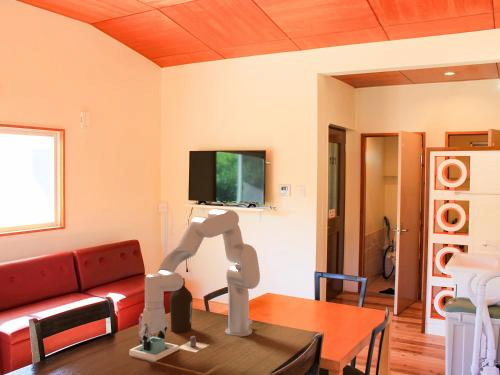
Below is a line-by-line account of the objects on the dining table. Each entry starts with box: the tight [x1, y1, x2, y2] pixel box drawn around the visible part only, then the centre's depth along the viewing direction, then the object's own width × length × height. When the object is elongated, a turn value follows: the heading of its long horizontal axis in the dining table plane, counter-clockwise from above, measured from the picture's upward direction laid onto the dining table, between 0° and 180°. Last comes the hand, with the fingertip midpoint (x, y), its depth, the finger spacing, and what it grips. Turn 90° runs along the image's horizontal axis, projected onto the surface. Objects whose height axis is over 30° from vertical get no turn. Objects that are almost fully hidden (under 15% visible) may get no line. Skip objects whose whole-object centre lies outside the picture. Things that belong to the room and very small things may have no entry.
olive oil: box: [169, 277, 194, 334], centre depth 224 cm, size 11×11×25 cm
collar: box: [141, 336, 166, 355], centre depth 197 cm, size 8×6×5 cm
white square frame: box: [128, 341, 180, 363], centre depth 196 cm, size 14×14×2 cm
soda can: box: [138, 312, 156, 343], centre depth 211 cm, size 7×7×12 cm
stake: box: [179, 335, 210, 353], centre depth 203 cm, size 10×10×5 cm
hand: (154, 346), depth 196 cm, fingers open, 8 cm apart
